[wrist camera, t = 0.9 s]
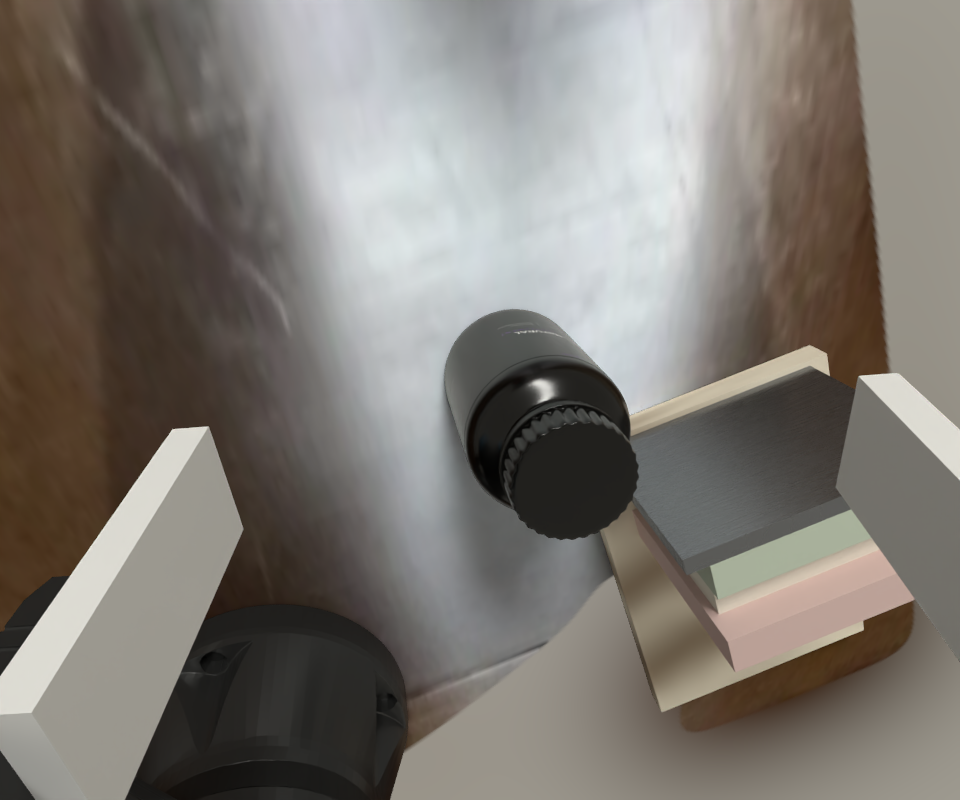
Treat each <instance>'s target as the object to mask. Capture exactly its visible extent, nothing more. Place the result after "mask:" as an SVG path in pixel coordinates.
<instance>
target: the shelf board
mask: <svg viewBox="0 0 960 800" xmlns="http://www.w3.org/2000/svg"><path fill="white" fill-rule="evenodd" d="M808 366H812V367H814V368H815V369H817V370H819V371H821V372H823V373H825V374H827V375H829V376H830V374H829V367H828V359H827V354H826V353H824V352H822V351H820V350H818V349H816V348H814V347H812V346H810V345H809V346H806V347H803V348H801V349H798V350H796V351H793V352H791V353H788V354H786V355H783V356H781V357H778V358H775V359H773V360H770V361H768V362H765V363H763V364H760V365H758V366H755V367H753V368H750V369H747V370H745V371H742V372H740V373H737V374H735V375H732V376H730V377H727V378H725V379H722V380H720V381H717V382H714V383H712V384H709V385H707V386H704V387H702V388H699V389H697V390H694V391H692V392H689V393H686V394H684V395H681V396H679V397H676V398H674V399H671V400H669V401H666V402H664V403H661V404H658V405H656V406H653V407H651V408H648V409H646V410H643V411H641V412H638V413H636V414H633V415H630V424H631V436H633V435H635V434H638V433H640V432H643V431H645V430H648V429H650V428H653V427H655V426H658V425H660V424H663V423H666V422H668V421H671V420H673V419H676V418H678V417H681V416H683V415H686V414H688V413H691V412H693V411H696V410H699V409H701V408H704V407H706V406H709V405H711V404H714V403H716V402H719V401H721V400H724V399H726V398H729V397H731V396H734V395H737V394H739V393H742V392H744V391H747V390H749V389H752V388H754V387H757V386H759V385H762V384H764V383H767V382H770V381H772V380H775V379H777V378H780V377H782V376H785V375H787V374H790V373H792V372H795V371H797V370H800V369H803V368H805V367H808ZM635 509H637V508H636V507H635V505H634V504H633V503H632V501H631V502H630V503H629V504H628V506H627V509H626V510H625V511H624V512H622V513H621V514H620V516H619V518H618V519H617V520H615V521H613V522H612V523H611V524H610V525H609V526H608V527H606V528H603V529H601V530H600V533H601V536H602V539H603V542H604V546H605V549H606V552H607V555H608V558H609V561H610V564H611V567H612V570H613V574H614V577H615V580H616V583H617V586H618V589H619V592H620V595H621V598H622V602H623V605H624V608H625V611H626V614H627V617H628V620H629V624H630V627H631V630H632V633H633V636H634V639H635V642H636V645H637V648H638V651H639V655H640V658H641V661H642V664H643V667H644V670H645V673H646V677H647V680H648V683H649V686H650V689H651V692H652V695H653V697H654V699H655V700H656V703H657V704H658V706H659V708H660V710H661V712H664V711H667V710H669V709H671V708H674V707H676V706H679V705H681V704H684V703H686V702H689V701H691V700H694V699H696V698H698V697H701V696H703V695H706V694H708V693H711V692H713V691H716V690H718V689H720V688H723V687H725V686H728V685H730V684H733V683H735V682H738V681H740V680H742V679H745V678H747V677H750V676H752V675H755V674H757V673H760V672H762V671H765V670H767V669H769V668H772V667H774V666H777V665H779V664H782V663H784V662H787V661H789V660H791V659H794V658H796V657H799V656H801V655H804V654H806V653H809V652H811V651H813V650H816V649H818V648H821V647H823V646H826V645H828V644H831V643H833V642H836V641H838V640H840V639H843V638H845V637H848V636H850V635H853V634H855V633H858V632H860V631H862V630H864V627H863V621H861V622H858V623H856V624H853V625H851V626H849V627H846V628H844V629H841V630H839V631H836V632H834V633H831V634H829V635H827V636H824V637H822V638H819V639H817V640H814V641H812V642H809V643H807V644H804V645H802V646H800V647H797V648H795V649H792V650H790V651H787V652H785V653H782V654H780V655H778V656H775V657H773V658H770V659H768V660H765V661H763V662H760V663H758V664H755V665H753V666H751V667H748V668H746V669H743V670H741V671H738V672H736V673H735V671H734V670H733V669H732V667H731V666H730V664H729V663H728V661H727V660H726V659H725V657H724V656H723V654H722V653H721V652H720V650H719V649H718V647H717V646H716V644H715V643H714V642H713V640H712V639H711V637H710V636H709V634H708V633H707V632H706V630H705V629H704V627H703V626H702V624H701V623H700V622H699V620H698V619H697V617H696V616H695V614H694V613H693V612H692V610H691V609H690V607H689V606H688V604H687V603H686V602H685V600H684V599H683V597H682V596H681V594H680V593H679V592H678V590H677V589H676V587H675V586H674V584H673V583H672V582H671V580H670V579H669V577H668V576H667V575H666V573H665V572H664V570H663V569H662V567H661V566H660V565H659V563H658V562H657V560H656V559H655V557H654V556H653V555H652V553H651V552H650V550H649V549H648V547H647V546H646V545H645V543H644V542H643V540H642V539H641V537H640V536H639V532H638V529H637V526H636V522H635V519H634V515H633V512H632V510H635Z"/></svg>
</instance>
